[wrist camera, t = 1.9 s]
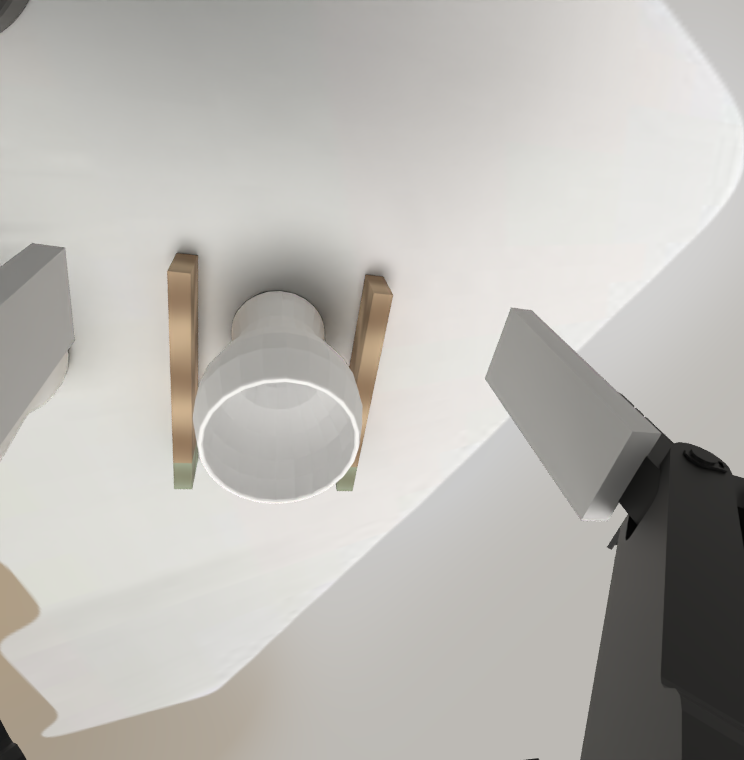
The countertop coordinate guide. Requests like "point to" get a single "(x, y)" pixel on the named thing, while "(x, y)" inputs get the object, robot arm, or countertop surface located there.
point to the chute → (186, 360)
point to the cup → (277, 405)
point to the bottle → (38, 400)
